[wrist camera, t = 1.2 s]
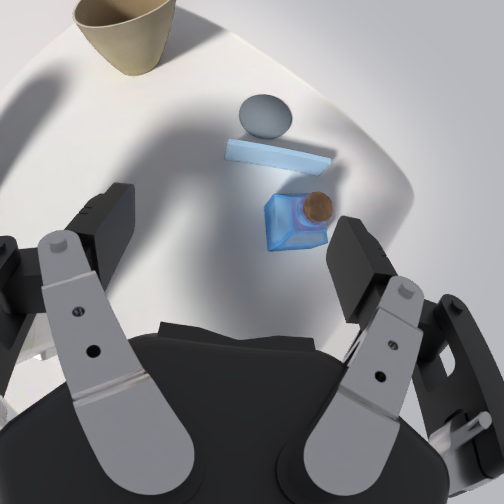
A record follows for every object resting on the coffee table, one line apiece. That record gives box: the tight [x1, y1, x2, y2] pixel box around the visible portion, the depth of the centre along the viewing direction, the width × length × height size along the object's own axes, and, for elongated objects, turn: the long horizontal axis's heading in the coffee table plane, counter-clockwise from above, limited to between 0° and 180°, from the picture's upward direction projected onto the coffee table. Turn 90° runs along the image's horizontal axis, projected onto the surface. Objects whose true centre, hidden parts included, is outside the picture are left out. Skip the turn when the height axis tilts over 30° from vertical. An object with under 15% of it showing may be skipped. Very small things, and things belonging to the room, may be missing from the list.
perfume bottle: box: [264, 192, 333, 251], centre depth 36 cm, size 6×6×12 cm
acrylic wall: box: [225, 139, 331, 176], centre depth 40 cm, size 1×14×5 cm, turn 83°
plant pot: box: [73, 0, 176, 76], centre depth 33 cm, size 15×15×16 cm
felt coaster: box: [239, 95, 291, 139], centre depth 43 cm, size 8×8×1 cm
